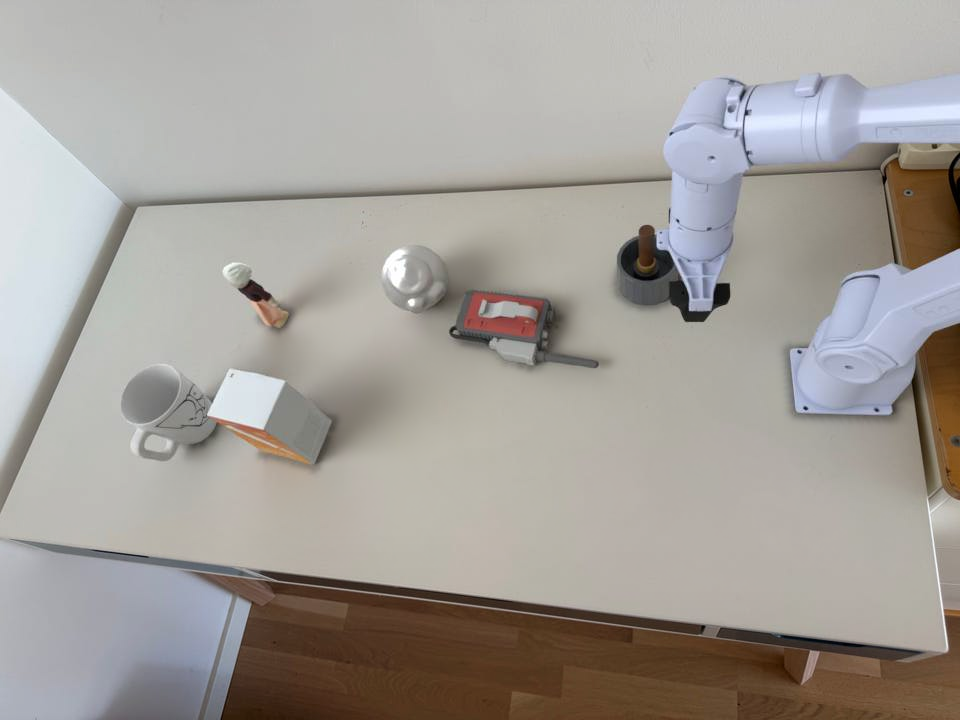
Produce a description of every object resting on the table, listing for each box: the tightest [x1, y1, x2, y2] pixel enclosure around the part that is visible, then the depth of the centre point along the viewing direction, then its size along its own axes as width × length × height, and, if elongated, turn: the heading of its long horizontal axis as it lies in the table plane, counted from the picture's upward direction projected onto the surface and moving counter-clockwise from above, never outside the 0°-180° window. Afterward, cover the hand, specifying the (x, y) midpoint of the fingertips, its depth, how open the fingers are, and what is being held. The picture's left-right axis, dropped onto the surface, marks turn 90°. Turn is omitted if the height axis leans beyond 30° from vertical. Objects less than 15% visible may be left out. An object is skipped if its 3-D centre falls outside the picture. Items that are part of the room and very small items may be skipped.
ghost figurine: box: [380, 244, 449, 315], centre depth 86 cm, size 9×10×10 cm
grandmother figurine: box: [222, 261, 290, 328], centre depth 89 cm, size 8×4×13 cm, turn 68°
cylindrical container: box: [616, 234, 679, 306], centre depth 82 cm, size 7×7×5 cm
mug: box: [119, 363, 217, 462], centre depth 84 cm, size 11×8×10 cm
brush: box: [633, 224, 660, 281], centre depth 79 cm, size 3×3×10 cm
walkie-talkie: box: [448, 289, 600, 369], centre depth 82 cm, size 9×4×20 cm
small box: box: [207, 367, 333, 466], centre depth 79 cm, size 8×6×13 cm
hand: (693, 288), depth 70 cm, fingers open, 7 cm apart
